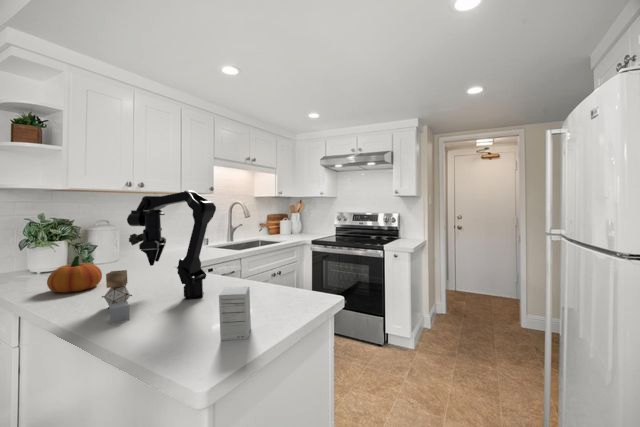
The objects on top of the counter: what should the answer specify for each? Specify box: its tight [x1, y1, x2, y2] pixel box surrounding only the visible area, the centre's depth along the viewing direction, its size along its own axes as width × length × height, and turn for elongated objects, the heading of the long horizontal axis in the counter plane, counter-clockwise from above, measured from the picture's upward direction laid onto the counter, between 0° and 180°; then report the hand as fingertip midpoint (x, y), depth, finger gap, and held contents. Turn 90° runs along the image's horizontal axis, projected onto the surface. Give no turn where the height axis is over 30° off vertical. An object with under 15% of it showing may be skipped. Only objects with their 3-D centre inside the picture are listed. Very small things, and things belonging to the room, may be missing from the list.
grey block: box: [108, 301, 130, 325], centre depth 96 cm, size 5×5×5 cm
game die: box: [101, 284, 133, 310], centre depth 108 cm, size 9×8×10 cm
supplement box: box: [218, 286, 252, 341], centre depth 83 cm, size 7×7×13 cm
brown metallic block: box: [105, 269, 128, 289], centre depth 108 cm, size 5×5×5 cm
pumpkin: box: [46, 255, 103, 294], centre depth 133 cm, size 19×19×15 cm
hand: (154, 263), depth 123 cm, fingers open, 9 cm apart
